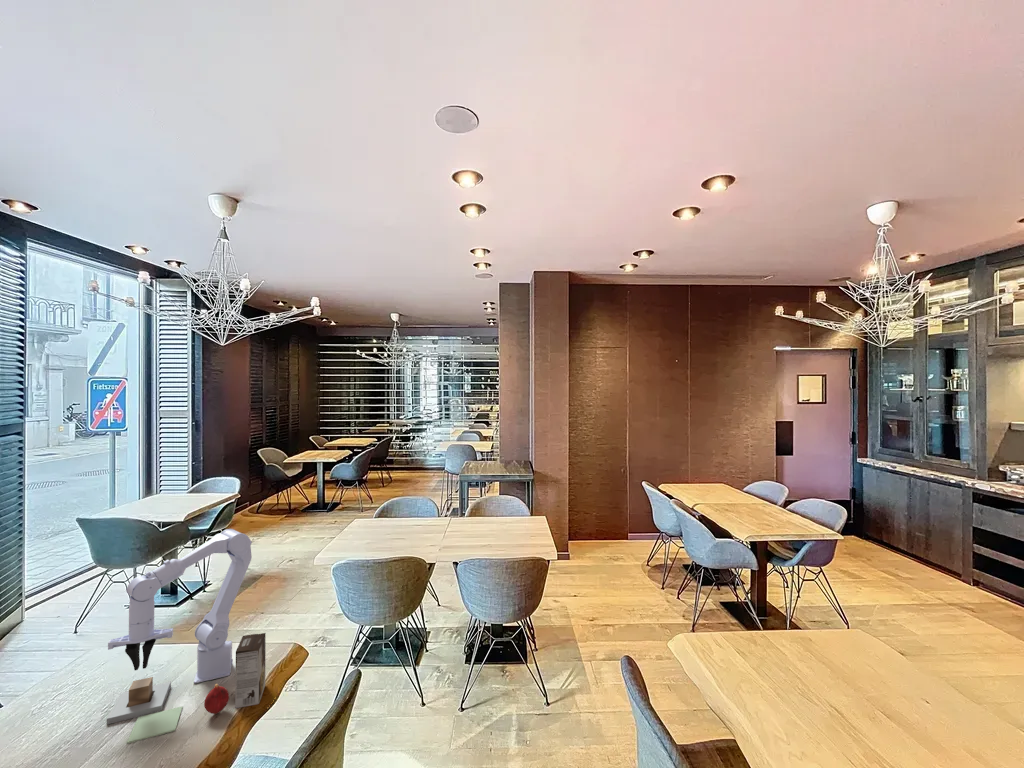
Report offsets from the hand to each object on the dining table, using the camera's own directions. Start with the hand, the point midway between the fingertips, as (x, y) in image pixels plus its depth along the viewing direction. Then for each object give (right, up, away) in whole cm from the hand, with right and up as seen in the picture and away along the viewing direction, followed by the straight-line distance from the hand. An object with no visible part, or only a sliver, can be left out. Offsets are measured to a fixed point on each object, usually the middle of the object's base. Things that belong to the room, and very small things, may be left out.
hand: (141, 667), depth 133 cm
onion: (+24, -11, -4) cm, 27 cm away
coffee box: (+30, -11, +3) cm, 32 cm away
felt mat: (+11, -10, -8) cm, 17 cm away
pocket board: (0, -10, 0) cm, 10 cm away
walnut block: (0, -11, 0) cm, 10 cm away
